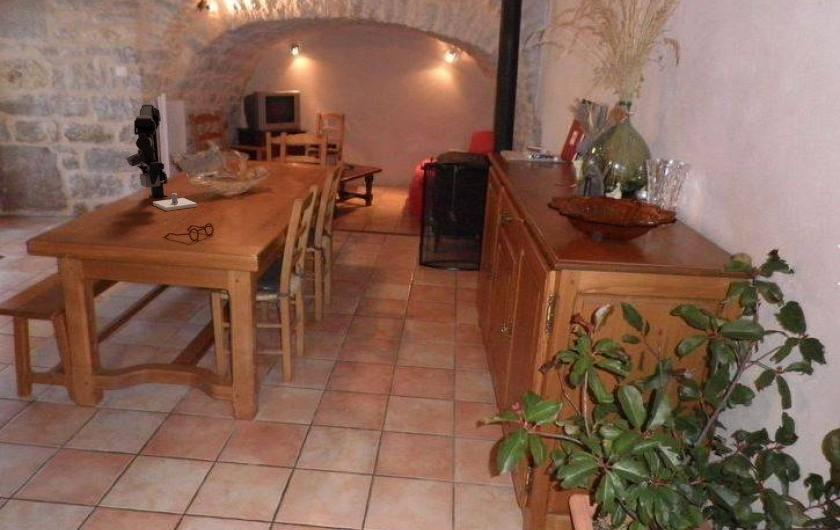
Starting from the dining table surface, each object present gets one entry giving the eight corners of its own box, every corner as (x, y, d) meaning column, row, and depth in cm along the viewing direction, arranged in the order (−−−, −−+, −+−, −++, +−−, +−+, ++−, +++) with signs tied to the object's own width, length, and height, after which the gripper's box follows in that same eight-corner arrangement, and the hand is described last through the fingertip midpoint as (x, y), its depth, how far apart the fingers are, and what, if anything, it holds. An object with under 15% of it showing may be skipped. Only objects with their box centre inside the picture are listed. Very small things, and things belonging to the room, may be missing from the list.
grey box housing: (140, 185, 277) (139, 173, 276) (154, 183, 281) (153, 172, 280) (146, 187, 273) (145, 175, 272) (160, 185, 277) (159, 174, 276)
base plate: (153, 205, 285) (151, 192, 283) (183, 201, 294) (182, 189, 293) (166, 210, 276) (165, 198, 274) (197, 206, 285) (196, 194, 283)
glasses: (191, 243, 233) (190, 230, 231) (163, 238, 237) (162, 225, 235) (214, 234, 244) (214, 222, 243) (187, 230, 249) (186, 218, 247)
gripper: (119, 145, 273) (123, 181, 278) (136, 151, 260) (140, 188, 265) (145, 144, 280) (148, 179, 285) (163, 149, 268) (166, 185, 273)
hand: (150, 183), depth 277 cm, fingers closed on grey box housing, 6 cm apart
